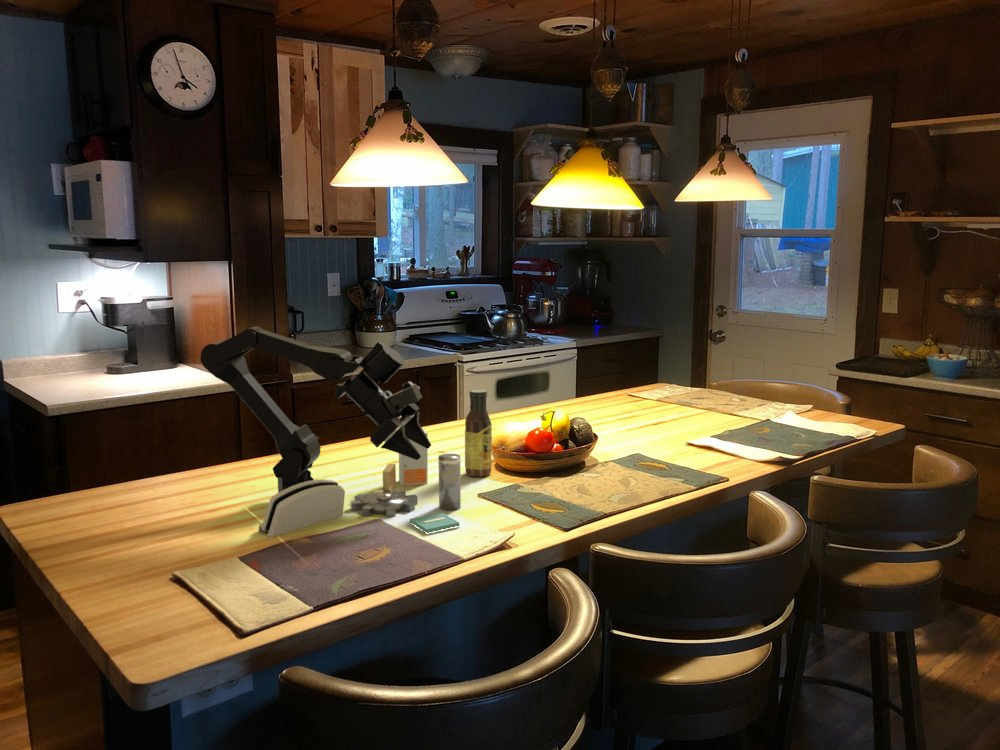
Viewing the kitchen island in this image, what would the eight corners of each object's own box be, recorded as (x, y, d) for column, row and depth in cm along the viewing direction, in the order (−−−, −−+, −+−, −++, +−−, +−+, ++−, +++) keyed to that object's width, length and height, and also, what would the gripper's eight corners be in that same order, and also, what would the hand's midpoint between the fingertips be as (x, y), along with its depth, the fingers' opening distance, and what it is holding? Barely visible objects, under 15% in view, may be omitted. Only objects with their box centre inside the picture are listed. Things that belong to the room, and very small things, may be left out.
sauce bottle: (488, 478, 194) (488, 394, 191) (462, 477, 195) (461, 393, 192) (494, 471, 200) (494, 388, 197) (468, 469, 202) (468, 388, 198)
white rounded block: (328, 510, 172) (337, 469, 168) (342, 523, 169) (351, 481, 165) (256, 531, 160) (263, 487, 156) (269, 545, 157) (277, 500, 153)
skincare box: (401, 486, 188) (400, 434, 186) (398, 481, 192) (397, 430, 190) (428, 484, 190) (427, 432, 188) (425, 479, 194) (424, 428, 192)
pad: (427, 535, 158) (426, 528, 157) (409, 524, 163) (409, 518, 163) (459, 528, 161) (459, 521, 161) (441, 518, 167) (441, 511, 167)
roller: (445, 513, 170) (445, 460, 168) (435, 507, 174) (434, 455, 172) (464, 509, 173) (464, 457, 171) (453, 503, 176) (453, 452, 174)
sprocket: (410, 517, 167) (410, 485, 166) (344, 516, 168) (343, 484, 167) (422, 493, 182) (422, 464, 181) (362, 492, 183) (361, 463, 182)
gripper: (384, 379, 161) (441, 436, 161) (408, 364, 179) (460, 416, 179) (346, 418, 163) (402, 475, 164) (373, 399, 182) (424, 451, 182)
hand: (424, 452), depth 172 cm, fingers open, 9 cm apart
